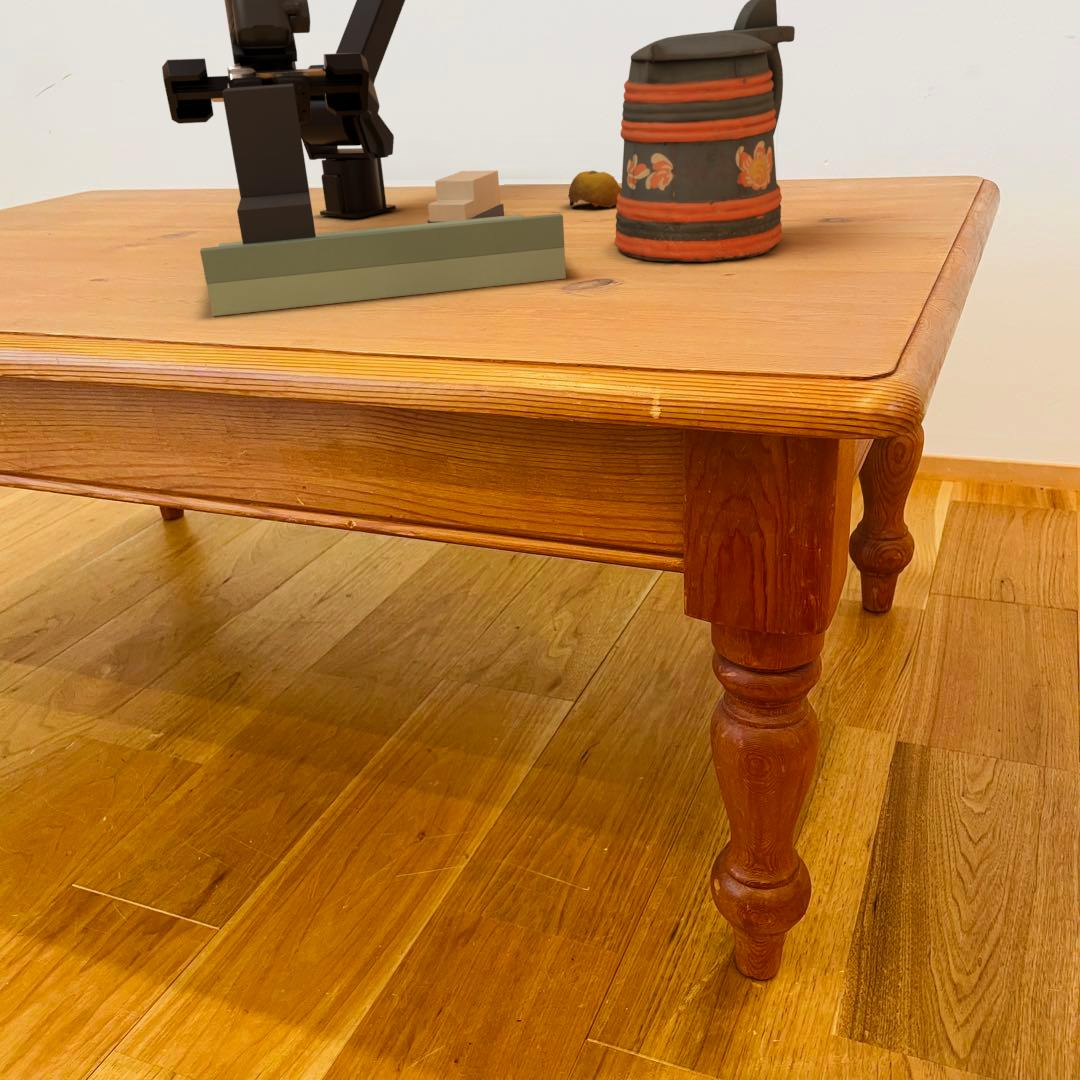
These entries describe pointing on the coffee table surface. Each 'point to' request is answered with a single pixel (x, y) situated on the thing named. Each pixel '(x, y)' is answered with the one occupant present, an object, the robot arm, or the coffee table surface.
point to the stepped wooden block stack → (466, 197)
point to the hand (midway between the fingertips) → (280, 160)
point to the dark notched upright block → (269, 163)
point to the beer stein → (703, 143)
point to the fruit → (594, 189)
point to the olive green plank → (384, 263)
